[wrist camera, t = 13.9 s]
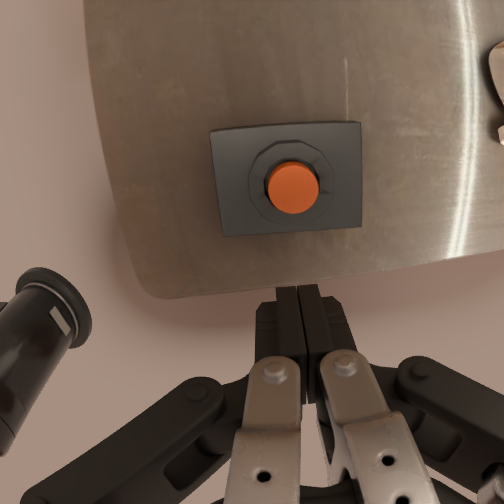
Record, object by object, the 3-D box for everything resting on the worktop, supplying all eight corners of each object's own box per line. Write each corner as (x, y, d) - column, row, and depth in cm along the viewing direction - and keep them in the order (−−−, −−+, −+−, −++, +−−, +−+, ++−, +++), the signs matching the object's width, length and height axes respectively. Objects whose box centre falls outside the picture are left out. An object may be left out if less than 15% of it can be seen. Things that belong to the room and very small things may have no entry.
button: (269, 208, 25) (270, 215, 23) (265, 162, 23) (265, 167, 22) (316, 205, 25) (319, 212, 23) (314, 159, 23) (317, 163, 21)
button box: (225, 227, 30) (220, 246, 26) (213, 129, 26) (204, 133, 22) (355, 218, 29) (367, 235, 25) (353, 120, 25) (368, 123, 21)
